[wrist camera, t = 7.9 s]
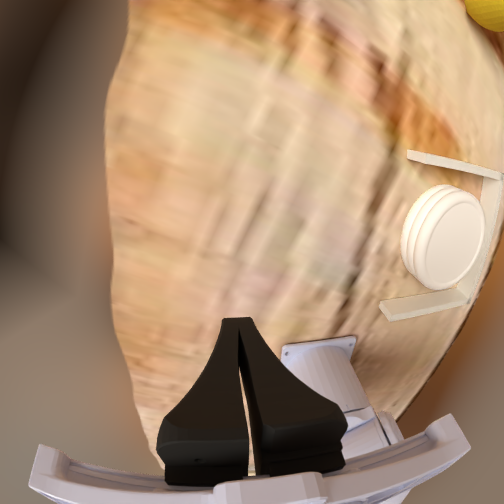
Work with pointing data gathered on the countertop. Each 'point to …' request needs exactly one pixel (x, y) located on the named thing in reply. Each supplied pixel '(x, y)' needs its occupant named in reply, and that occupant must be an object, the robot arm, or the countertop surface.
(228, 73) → the countertop surface
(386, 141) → the countertop surface
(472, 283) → the sorting bin
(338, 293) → the countertop surface
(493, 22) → the lemon
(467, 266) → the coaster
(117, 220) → the countertop surface
